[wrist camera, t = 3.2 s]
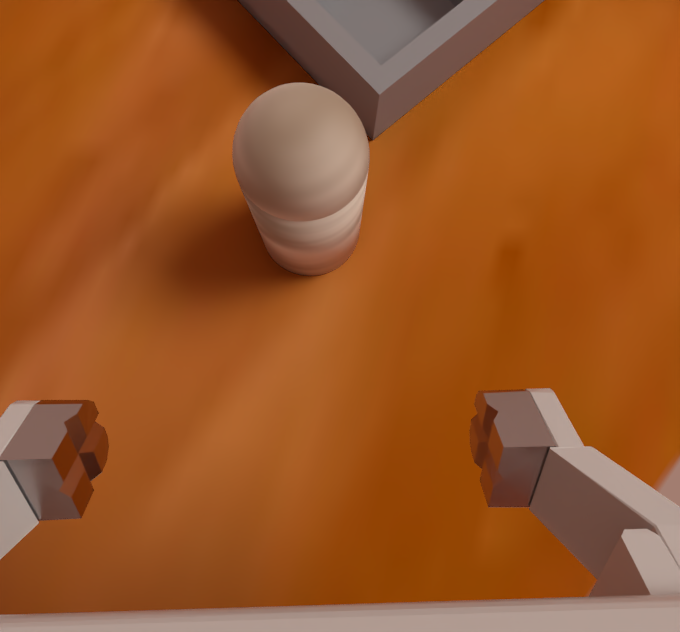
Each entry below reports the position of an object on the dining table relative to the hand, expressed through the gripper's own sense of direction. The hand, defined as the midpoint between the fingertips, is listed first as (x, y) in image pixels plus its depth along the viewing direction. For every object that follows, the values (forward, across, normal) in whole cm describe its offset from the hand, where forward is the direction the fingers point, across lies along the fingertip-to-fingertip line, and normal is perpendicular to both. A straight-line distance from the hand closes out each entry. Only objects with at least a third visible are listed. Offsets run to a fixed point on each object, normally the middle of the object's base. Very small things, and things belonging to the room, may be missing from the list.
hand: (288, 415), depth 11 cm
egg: (+15, 0, +3) cm, 15 cm away
